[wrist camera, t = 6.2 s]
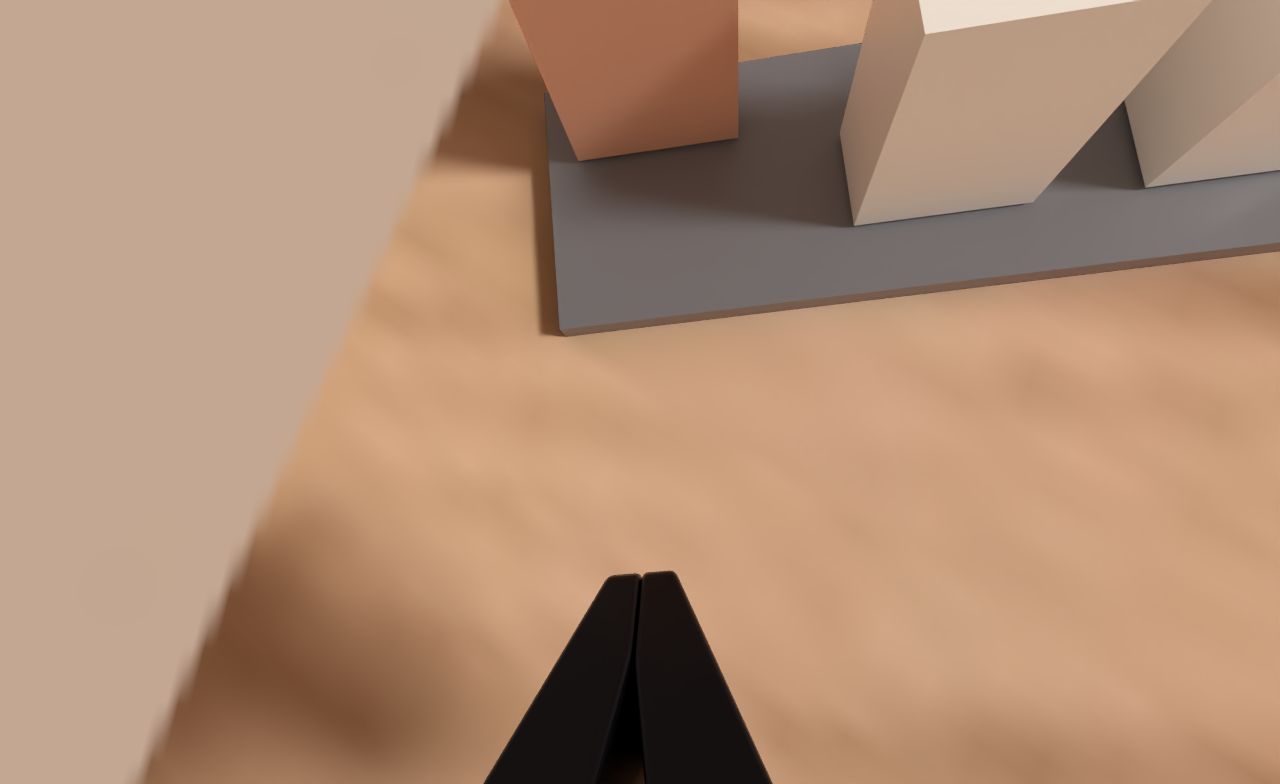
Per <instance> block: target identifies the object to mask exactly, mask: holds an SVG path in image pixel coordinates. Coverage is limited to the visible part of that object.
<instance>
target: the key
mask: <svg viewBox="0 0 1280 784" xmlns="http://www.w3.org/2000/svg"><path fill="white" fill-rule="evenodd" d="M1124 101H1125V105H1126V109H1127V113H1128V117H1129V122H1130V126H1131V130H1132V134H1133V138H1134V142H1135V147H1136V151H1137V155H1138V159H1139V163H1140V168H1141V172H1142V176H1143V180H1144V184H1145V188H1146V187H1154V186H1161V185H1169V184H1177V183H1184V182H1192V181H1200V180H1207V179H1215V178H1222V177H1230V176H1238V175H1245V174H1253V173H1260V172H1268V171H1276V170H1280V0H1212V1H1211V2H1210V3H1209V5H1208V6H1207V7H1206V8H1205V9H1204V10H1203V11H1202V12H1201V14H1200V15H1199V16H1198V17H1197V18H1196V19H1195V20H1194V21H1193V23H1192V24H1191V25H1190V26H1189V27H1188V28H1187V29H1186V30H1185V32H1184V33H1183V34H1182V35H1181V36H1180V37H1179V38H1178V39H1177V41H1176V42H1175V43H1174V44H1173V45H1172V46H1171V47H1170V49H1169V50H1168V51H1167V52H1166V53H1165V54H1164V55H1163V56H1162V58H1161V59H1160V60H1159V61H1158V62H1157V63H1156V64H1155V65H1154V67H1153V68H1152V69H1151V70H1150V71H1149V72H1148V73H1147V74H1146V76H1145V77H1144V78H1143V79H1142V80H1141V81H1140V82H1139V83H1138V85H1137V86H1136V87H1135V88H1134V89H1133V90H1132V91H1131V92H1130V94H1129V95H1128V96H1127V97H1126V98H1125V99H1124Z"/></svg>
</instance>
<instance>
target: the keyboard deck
mask: <svg viewBox="0 0 1280 784" xmlns="http://www.w3.org/2000/svg"><path fill="white" fill-rule="evenodd" d="M861 46H862V43H859V44H852V45H846V46H840V47H833V48H827V49H821V50H814V51H808V52H802V53H795V54H789V55H783V56H777V57H770V58H764V59H758V60H751V61H745V62H739V63H738V138H733V139H726V140H719V141H712V142H706V143H699V144H692V145H685V146H678V147H672V148H665V149H658V150H651V151H644V152H638V153H631V154H624V155H617V156H610V157H604V158H597V159H590V160H583V161H578V159H577V157H576V154H575V152H574V150H573V147H572V145H571V143H570V140H569V138H568V136H567V134H566V131H565V129H564V127H563V124H562V122H561V120H560V117H559V115H558V113H557V110H556V108H555V106H554V104H553V101H552V99H551V97H550V94H549V93H544V100H545V115H546V130H547V145H548V160H549V176H550V191H551V206H552V221H553V236H554V252H555V267H556V282H557V297H558V313H559V328H560V331H561V332H562V333H563V334H564V335H565V336H574V335H583V334H591V333H599V332H608V331H616V330H624V329H633V328H641V327H649V326H658V325H666V324H674V323H683V322H691V321H699V320H708V319H716V318H724V317H733V316H741V315H749V314H758V313H766V312H774V311H783V310H791V309H799V308H808V307H816V306H824V305H833V304H841V303H849V302H858V301H866V300H874V299H883V298H891V297H899V296H908V295H916V294H924V293H933V292H941V291H950V290H958V289H966V288H975V287H983V286H991V285H1000V284H1008V283H1016V282H1025V281H1033V280H1041V279H1050V278H1058V277H1066V276H1075V275H1083V274H1091V273H1100V272H1108V271H1116V270H1125V269H1133V268H1141V267H1150V266H1158V265H1166V264H1175V263H1183V262H1191V261H1200V260H1208V259H1216V258H1225V257H1233V256H1241V255H1250V254H1258V253H1266V252H1275V251H1280V170H1276V171H1268V172H1260V173H1253V174H1245V175H1238V176H1230V177H1222V178H1215V179H1207V180H1200V181H1192V182H1184V183H1177V184H1169V185H1161V186H1154V187H1146V188H1145V184H1144V180H1143V176H1142V172H1141V168H1140V163H1139V159H1138V155H1137V151H1136V147H1135V142H1134V138H1133V134H1132V130H1131V126H1130V122H1129V117H1128V113H1127V109H1126V105H1125V101H1124V100H1123V102H1122V103H1121V104H1120V105H1119V106H1118V107H1117V108H1116V109H1115V111H1114V112H1113V113H1112V114H1111V115H1110V116H1109V117H1108V118H1107V120H1106V121H1105V122H1104V123H1103V124H1102V125H1101V126H1100V127H1099V129H1098V130H1097V131H1096V132H1095V133H1094V134H1093V135H1092V136H1091V138H1090V139H1089V140H1088V141H1087V142H1086V143H1085V144H1084V145H1083V147H1082V148H1081V149H1080V150H1079V151H1078V152H1077V153H1076V155H1075V156H1074V157H1073V158H1072V159H1071V160H1070V161H1069V162H1068V164H1067V165H1066V166H1065V167H1064V168H1063V169H1062V170H1061V171H1060V173H1059V174H1058V175H1057V176H1056V177H1055V178H1054V179H1053V180H1052V182H1051V183H1050V184H1049V185H1048V186H1047V187H1046V188H1045V189H1044V191H1043V192H1042V193H1041V194H1040V195H1039V196H1038V197H1037V198H1036V200H1035V201H1034V202H1032V203H1024V204H1016V205H1009V206H1001V207H993V208H986V209H978V210H971V211H963V212H955V213H948V214H940V215H933V216H925V217H917V218H910V219H902V220H894V221H887V222H879V223H872V224H864V225H856V226H854V223H853V216H852V210H851V203H850V197H849V190H848V184H847V177H846V171H845V164H844V158H843V151H842V144H841V138H840V130H841V126H842V122H843V118H844V114H845V110H846V106H847V102H848V98H849V94H850V90H851V86H852V82H853V78H854V74H855V70H856V66H857V62H858V58H859V54H860V50H861Z"/></svg>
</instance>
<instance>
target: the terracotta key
mask: <svg viewBox="0 0 1280 784" xmlns="http://www.w3.org/2000/svg"><path fill="white" fill-rule="evenodd" d="M509 2H510V4H511V7H512V9H513V11H514V13H515V16H516V18H517V20H518V23H519V25H520V27H521V30H522V32H523V34H524V37H525V39H526V41H527V43H528V46H529V48H530V50H531V53H532V55H533V57H534V60H535V62H536V64H537V67H538V69H539V71H540V73H541V76H542V78H543V80H544V83H545V85H546V87H547V90H548V92H549V94H550V97H551V99H552V101H553V104H554V106H555V108H556V110H557V113H558V115H559V117H560V120H561V122H562V124H563V127H564V129H565V131H566V134H567V136H568V138H569V140H570V143H571V145H572V147H573V150H574V152H575V154H576V157H577V159H578V161H583V160H590V159H597V158H604V157H610V156H617V155H624V154H631V153H638V152H644V151H651V150H658V149H665V148H672V147H678V146H685V145H692V144H699V143H706V142H712V141H719V140H726V139H733V138H738V0H509Z"/></svg>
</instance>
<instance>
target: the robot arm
mask: <svg viewBox="0 0 1280 784" xmlns="http://www.w3.org/2000/svg"><path fill="white" fill-rule="evenodd" d="M484 784H773V783H772V781H771V779H770V777H769V775H768V772H767V770H766V768H765V766H764V764H763V761H762V759H761V757H760V755H759V753H758V751H757V748H756V746H755V744H754V742H753V740H752V737H751V735H750V733H749V731H748V729H747V727H746V724H745V722H744V720H743V718H742V716H741V713H740V711H739V709H738V707H737V705H736V703H735V700H734V698H733V696H732V694H731V692H730V689H729V687H728V685H727V683H726V681H725V678H724V676H723V674H722V672H721V670H720V668H719V665H718V663H717V661H716V659H715V657H714V654H713V652H712V650H711V648H710V646H709V644H708V641H707V639H706V637H705V635H704V633H703V630H702V628H701V626H700V624H699V622H698V620H697V617H696V615H695V613H694V611H693V609H692V606H691V604H690V602H689V600H688V598H687V596H686V593H685V591H684V589H683V587H682V585H681V582H680V580H679V578H678V576H677V574H676V573H675V572H674V571H659V572H648V573H645V574H644V575H643V577H641V575H639V574H636V573H635V574H622V575H613V576H610V577H608V578H607V579H606V581H605V582H604V584H603V586H602V587H601V589H600V590H599V592H598V594H597V595H596V597H595V599H594V600H593V602H592V604H591V605H590V607H589V609H588V610H587V612H586V614H585V615H584V617H583V619H582V620H581V622H580V624H579V625H578V627H577V629H576V630H575V632H574V634H573V635H572V637H571V639H570V640H569V642H568V644H567V645H566V647H565V649H564V650H563V652H562V654H561V655H560V657H559V659H558V660H557V662H556V664H555V665H554V667H553V669H552V670H551V672H550V674H549V675H548V677H547V679H546V680H545V682H544V684H543V685H542V687H541V689H540V690H539V692H538V694H537V695H536V697H535V699H534V700H533V702H532V704H531V705H530V707H529V709H528V710H527V712H526V714H525V715H524V717H523V719H522V720H521V722H520V724H519V725H518V727H517V729H516V730H515V732H514V734H513V735H512V737H511V739H510V740H509V742H508V744H507V745H506V747H505V749H504V750H503V752H502V754H501V755H500V757H499V759H498V760H497V762H496V764H495V765H494V767H493V769H492V770H491V772H490V774H489V775H488V777H487V779H486V780H485V782H484Z"/></svg>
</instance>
